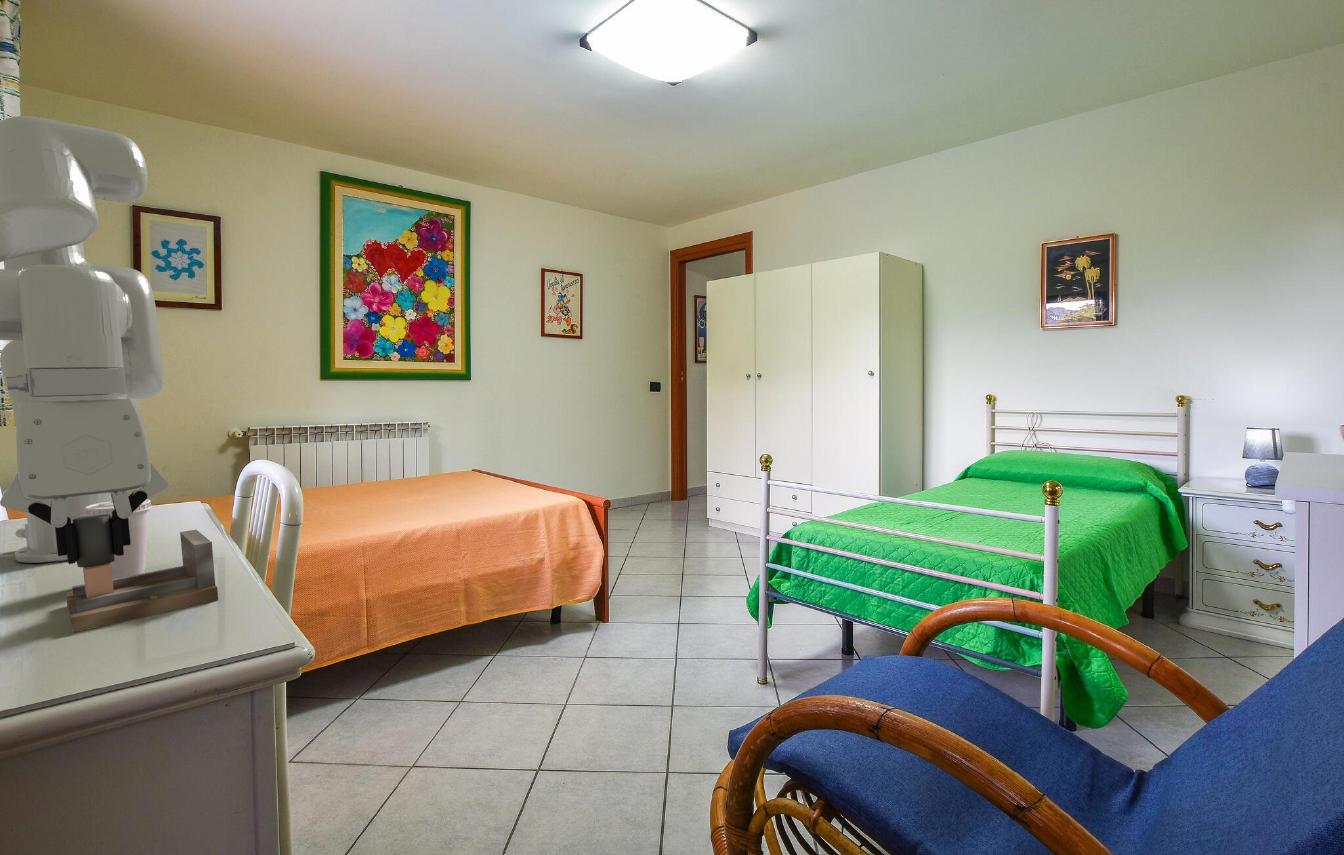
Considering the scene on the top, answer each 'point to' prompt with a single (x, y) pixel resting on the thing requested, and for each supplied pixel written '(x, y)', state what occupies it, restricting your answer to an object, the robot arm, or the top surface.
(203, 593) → the vise base
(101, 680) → the top surface
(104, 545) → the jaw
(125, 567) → the smoothie
